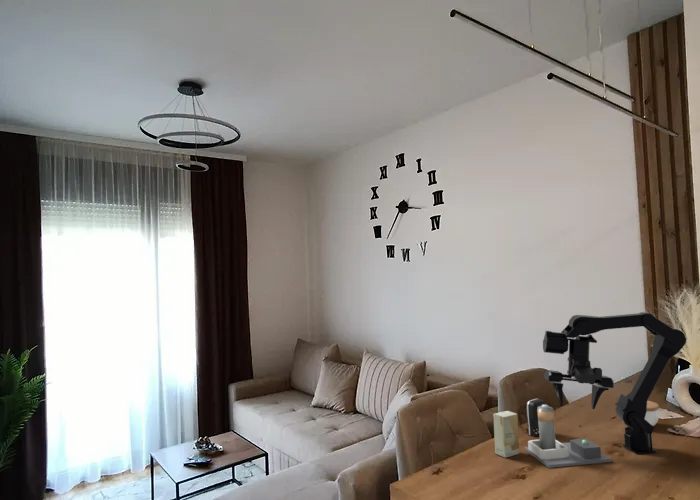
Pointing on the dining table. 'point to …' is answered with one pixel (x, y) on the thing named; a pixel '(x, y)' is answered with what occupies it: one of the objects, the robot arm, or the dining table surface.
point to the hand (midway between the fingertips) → (577, 407)
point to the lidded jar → (652, 412)
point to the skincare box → (506, 434)
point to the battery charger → (533, 416)
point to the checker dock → (567, 453)
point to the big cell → (546, 427)
